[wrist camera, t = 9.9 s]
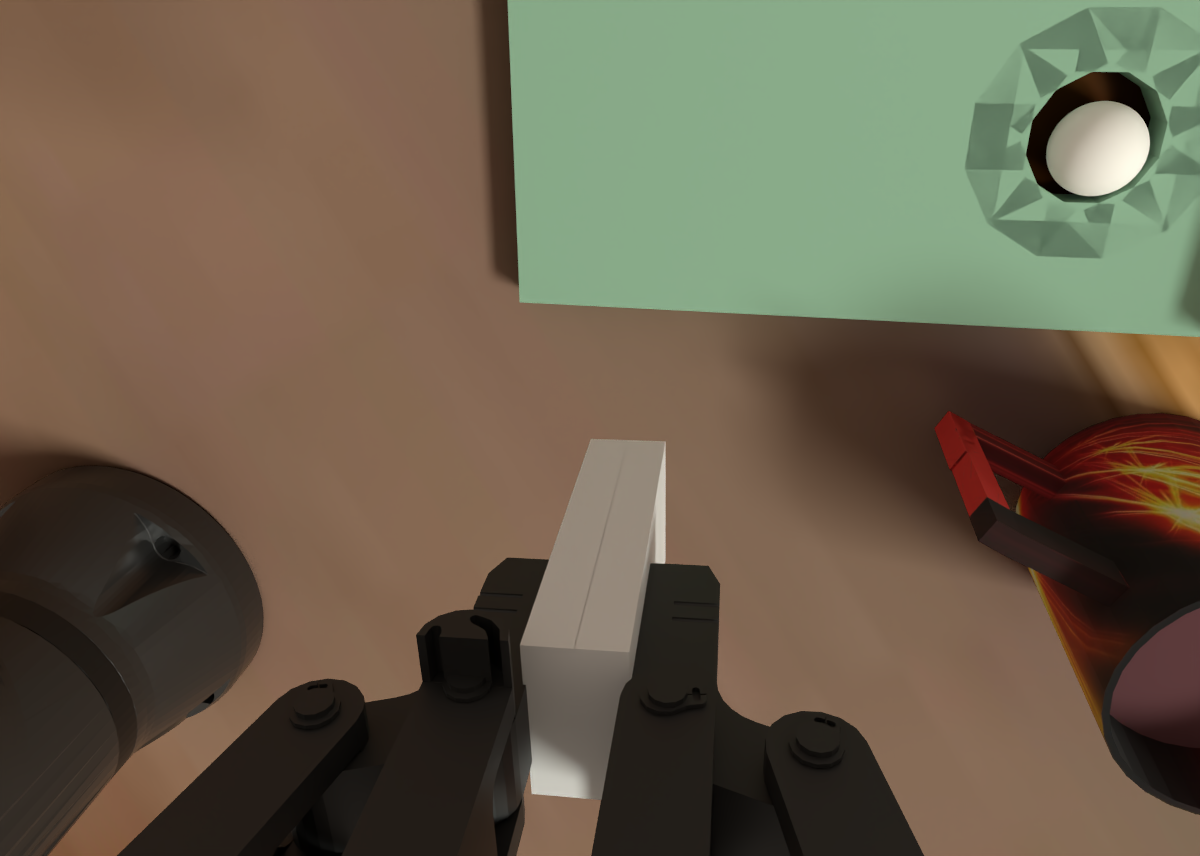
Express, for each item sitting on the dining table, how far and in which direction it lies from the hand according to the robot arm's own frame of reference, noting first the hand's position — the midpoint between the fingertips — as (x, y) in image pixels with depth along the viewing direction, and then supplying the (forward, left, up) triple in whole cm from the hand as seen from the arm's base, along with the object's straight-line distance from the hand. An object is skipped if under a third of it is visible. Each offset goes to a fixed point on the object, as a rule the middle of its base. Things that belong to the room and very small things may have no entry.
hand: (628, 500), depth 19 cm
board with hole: (+7, +5, -21) cm, 23 cm away
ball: (+14, +4, -20) cm, 24 cm away
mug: (+17, -11, -22) cm, 29 cm away
